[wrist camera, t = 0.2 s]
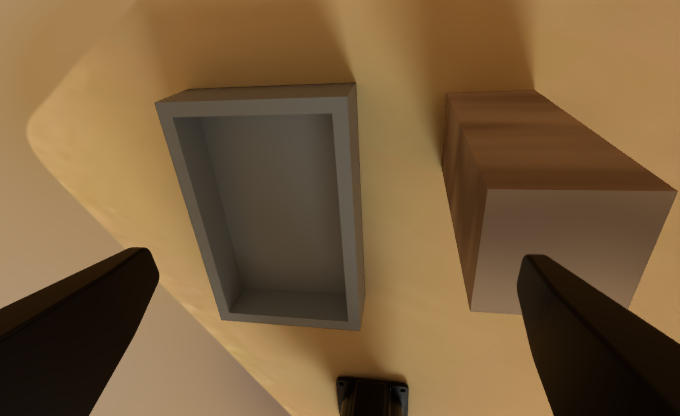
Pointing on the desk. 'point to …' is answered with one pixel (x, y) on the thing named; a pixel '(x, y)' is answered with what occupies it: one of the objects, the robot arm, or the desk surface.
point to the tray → (274, 199)
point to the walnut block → (544, 198)
